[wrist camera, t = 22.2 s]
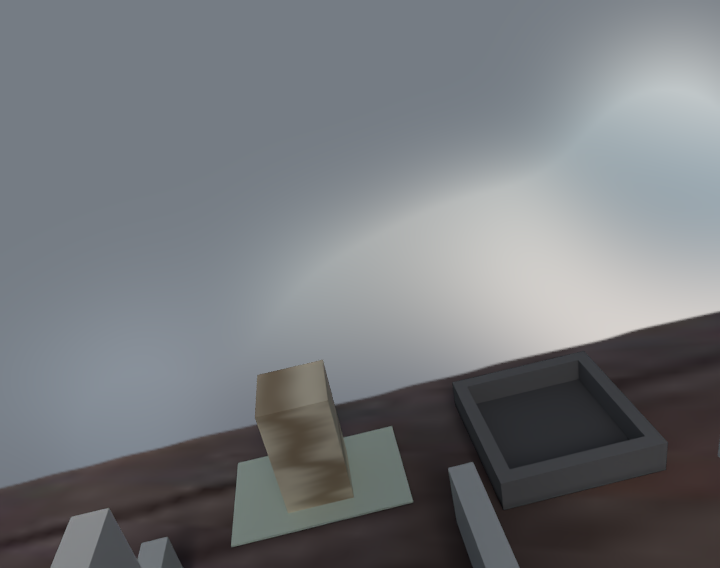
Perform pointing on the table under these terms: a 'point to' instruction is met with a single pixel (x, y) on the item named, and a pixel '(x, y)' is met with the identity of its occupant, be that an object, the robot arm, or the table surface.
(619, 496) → the table surface
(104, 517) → the robot arm
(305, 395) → the birch block
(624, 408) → the tray
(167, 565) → the walled passage
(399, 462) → the pad
